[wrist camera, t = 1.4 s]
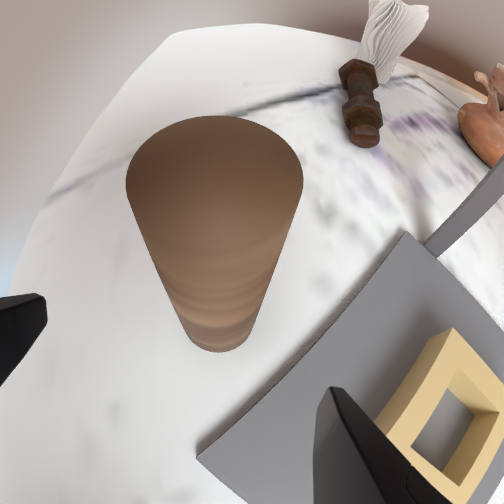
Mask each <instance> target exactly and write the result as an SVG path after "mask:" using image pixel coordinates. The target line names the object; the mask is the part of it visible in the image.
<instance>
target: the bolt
mask: <svg viewBox="0 0 504 504" xmlns="http://www.w3.org/2000/svg"><path fill="white" fill-rule="evenodd" d="M339 76H340V79H341V82H342V85H343V89H345V90H348V96H349V101H347V102H346V103H345V104H344V105H343V106H342V112H343V116H344V120H345V124H346V126H347V128H348V129H350V140H351V141H352V143H353V144H355V145H357V146H359V147H361V148H371V147H374V146H376V145H377V144H378V143H379V140H380V135H379V129H380V128H381V127H382V126H383V120H382V114H381V109H380V104H379V102H378V101H376V100H374V96H373V90H374V89H376V88H377V87H379V85H378V81H377V76H376V72H375V68H374V65H372V64H370V63H368V62H365V61H362V60H359V59H352V60H350V61H348V62H347V63H346V64H344V65H343V66H342V67H341V68H340V69H339Z"/></svg>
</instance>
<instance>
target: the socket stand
mask: <svg viewBox="0 0 504 504" xmlns="http://www.w3.org/2000/svg"><path fill="white" fill-rule="evenodd" d="M503 194H504V154H503V155H502V156H501V158H500V159H499V160H498V161H497V163H496V164H495V165H494V166H493V168H492V169H491V170H490V171H489V172H488V174H487V175H486V176H485V177H484V178H483V180H482V181H481V182H480V183H479V184H478V185H477V187H476V188H475V189H474V190H473V191H472V192H471V193H470V195H469V196H468V197H467V198H466V199H465V200H464V201H463V202H462V203H461V205H460V206H459V207H458V208H457V209H456V210H455V211H454V212H453V213H452V214H451V215H450V216H449V218H448V219H447V220H446V221H445V222H444V223H443V224H442V225H441V226H440V227H439V228H438V229H437V230H436V231H435V232H434V233H433V234H432V235H431V236H430V237H429V238H428V239H427V240H426V242H425V244H424V245H422V244H421V243H419V242H418V241H417V240H416V239H415V238H414V237H413V236H412V235H411V234H410V233H409V232H408V231H406V232H405V233H404V234H403V235H402V237H401V238H400V239H399V241H398V242H397V244H396V245H395V246H394V248H393V249H392V250H391V252H390V253H389V254H388V256H387V257H386V258H385V260H384V261H383V262H382V264H381V265H380V266H379V268H378V269H377V270H376V272H375V273H374V274H373V275H372V277H371V278H370V279H369V280H368V282H367V283H366V284H365V286H364V287H363V288H362V289H361V290H360V292H359V293H358V294H357V295H356V297H355V298H354V299H353V300H352V301H351V303H350V304H349V305H348V306H347V307H346V309H345V310H344V311H343V312H342V313H341V315H340V316H339V317H338V318H337V319H336V320H335V322H334V323H333V324H332V325H331V326H330V327H329V328H328V330H327V331H326V332H325V333H324V334H323V335H322V336H321V337H320V339H319V340H318V341H317V342H316V343H315V344H314V345H313V346H312V347H311V348H310V349H309V351H308V352H307V353H306V354H305V355H304V356H303V357H302V358H301V359H300V360H299V361H298V362H297V363H296V364H295V365H294V366H293V368H292V369H291V370H290V371H289V372H288V373H287V374H286V375H285V376H284V377H283V378H282V379H281V380H280V381H279V382H278V383H277V384H276V385H275V386H274V387H273V388H272V389H271V390H270V391H269V392H268V393H267V394H266V395H265V396H264V397H263V398H262V399H260V400H259V401H258V402H257V403H256V404H255V405H254V406H253V407H252V408H251V409H250V410H249V411H248V412H247V413H246V414H245V415H243V416H242V417H241V418H240V419H239V420H238V421H237V422H236V423H235V424H233V425H232V426H231V427H230V428H229V429H228V430H227V431H226V432H224V433H223V434H222V435H221V436H220V437H219V438H218V439H216V440H215V441H214V442H213V443H212V444H211V445H209V446H208V447H207V448H206V449H205V450H203V451H202V452H201V453H200V454H198V455H197V456H196V459H197V460H198V461H199V462H200V463H201V464H202V465H203V466H204V467H205V468H206V469H208V470H209V471H210V472H211V473H212V474H213V475H214V476H215V477H217V478H218V479H219V480H220V481H221V482H222V483H224V484H225V485H226V486H227V487H228V488H229V489H231V490H232V491H233V492H234V493H236V494H237V495H238V496H239V497H241V498H242V499H243V500H244V501H246V502H247V503H248V504H313V445H314V434H315V422H316V411H317V407H318V405H319V403H320V401H321V399H322V397H323V395H324V393H325V391H326V389H327V388H328V387H329V386H335V387H341V388H343V389H344V390H345V391H346V392H347V393H348V394H349V395H350V396H351V397H352V399H353V400H354V401H355V402H356V403H357V404H358V405H359V406H360V408H361V409H362V410H363V411H364V412H365V413H366V414H367V415H368V416H369V418H370V419H371V420H372V421H373V422H374V423H375V424H376V425H377V427H378V428H379V429H380V430H381V431H382V432H383V433H384V434H385V435H386V436H387V438H388V439H389V440H390V441H391V442H392V443H393V444H394V445H395V446H396V447H397V449H398V450H399V451H400V452H401V453H402V454H403V455H404V456H405V457H406V458H407V459H408V461H409V462H410V463H411V466H412V465H413V466H414V467H415V468H416V469H417V470H418V471H419V472H420V473H421V474H422V475H423V476H424V478H425V479H426V480H427V481H428V482H429V483H430V484H431V485H432V486H434V487H435V488H436V489H437V490H438V491H439V492H440V493H441V494H442V495H444V496H445V497H446V498H447V499H448V500H449V501H451V502H452V503H453V504H487V503H488V501H489V500H490V498H491V496H492V495H493V493H494V492H495V490H496V488H497V486H498V485H499V483H500V481H501V479H502V477H503V476H504V332H503V331H502V330H501V329H500V327H499V326H498V325H497V324H496V323H495V321H494V320H493V319H492V318H491V317H490V315H489V314H488V313H487V312H486V311H485V310H484V309H483V307H482V306H481V305H480V304H479V303H478V302H477V301H476V300H475V298H474V297H473V296H472V295H471V294H470V293H469V292H468V291H467V290H466V289H465V288H464V287H463V285H462V284H461V283H460V282H459V281H458V280H457V279H456V278H455V277H454V276H453V275H452V274H451V273H450V272H449V271H448V270H447V269H446V268H445V267H444V266H443V265H442V264H441V263H440V262H439V261H438V260H437V259H436V258H437V257H439V256H440V255H441V254H442V253H443V252H444V251H445V250H447V249H448V248H449V247H450V246H451V245H452V244H453V243H454V242H455V241H457V240H458V239H459V238H460V237H461V236H462V235H463V234H464V233H465V232H466V231H467V230H468V229H469V228H470V227H472V226H473V225H474V224H475V223H476V222H477V221H478V220H479V219H480V218H481V217H482V216H483V215H484V214H485V213H486V212H487V211H488V210H489V209H490V208H491V207H492V206H493V205H494V204H495V203H496V202H497V201H498V199H499V198H500V197H501V196H502V195H503Z"/></svg>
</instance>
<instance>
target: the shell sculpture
mask: <svg viewBox="0 0 504 504" xmlns="http://www.w3.org/2000/svg"><path fill="white" fill-rule="evenodd" d="M428 9H429V7H428V6H426V5H412V6H408V5H407V4H404V3H403V2H402V1H401V0H398V2H397V0H369V19H368V21H367V24H366V27H365V30H364V34H363V37H362V41H361V45H360V48H359V52H358V54H357V57H356V59H359V60H362V61H365V62H368V63H370V64H372V63H373V64H372V65H374V68H375V72H376V76H377V81H378V84H386V83H387V82H388V81H389V79H390V76H391V74H392V73H393V70H394V67H395V65H396V63H397V60H398V57H399V55H400V54H401V53H402V52H403V50H405V49H406V48H407V47H408V45H409V44H410V43H411V42H413V41H414V39H415V38H416V37H417V36H418V34H419V33H420V31H421V30H422V29H423V28H424V26H425V22H426V21H427V20H428V17H429V13H428V11H427V10H428ZM376 24H377V27H376V28H375V25H376ZM372 29H373V31H372ZM393 39H394V40H393ZM392 41H393V42H392ZM380 44H381V45H380ZM375 60H376V61H375Z"/></svg>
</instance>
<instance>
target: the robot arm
mask: <svg viewBox="0 0 504 504" xmlns="http://www.w3.org/2000/svg"><path fill="white" fill-rule="evenodd" d="M47 321H48V317H47V307H46V300H45V298H44V297H43V296H41V295H39V294H37V293H31V294H23V295H16V296H9V297H2V298H0V387H1V385H2V384H3V383H4V381H5V380H6V379H7V378H8V376H9V375H10V374H11V373H12V371H13V370H14V369H15V368H16V366H17V365H18V364H19V363H20V362H21V360H22V359H23V358H24V356H25V355H26V354H27V352H28V351H29V349H30V348H31V346H32V345H33V343H34V342H35V340H36V339H37V338H38V336H39V335H40V333H41V332H42V330H43V329H44V328H45V326H46V324H47ZM313 504H453V503H452V502H451V501H449V500H448V499H447V498H446V497H445V496H444V495H442V494H441V493H440V492H439V491H438V490H437V489H436V488H435V487H434V486H432V485H431V484H430V483H429V482H428V481H427V480H426V479H425V478H424V476H423V475H422V474H421V473H420V472H419V471H418V470H417V469H416V468H415V467H414V466H413V465H412V466H411V463H410V462H409V461H408V459H407V458H406V457H405V456H404V455H403V454H402V453H401V452H400V451H399V450H398V449H397V447H396V446H395V445H394V444H393V443H392V442H391V441H390V440H389V439H388V438H387V436H386V435H385V434H384V433H383V432H382V431H381V430H380V429H379V428H378V427H377V425H376V424H375V423H374V422H373V421H372V420H371V419H370V418H369V416H368V415H367V414H366V413H365V412H364V411H363V410H362V409H361V408H360V406H359V405H358V404H357V403H356V402H355V401H354V400H353V399H352V397H351V396H350V395H349V394H348V393H347V392H346V391H345V390H344V389H343V388H341V387H335V386H329V387H328V388H327V389H326V391H325V393H324V395H323V397H322V399H321V401H320V403H319V405H318V407H317V411H316V422H315V434H314V445H313Z"/></svg>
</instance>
